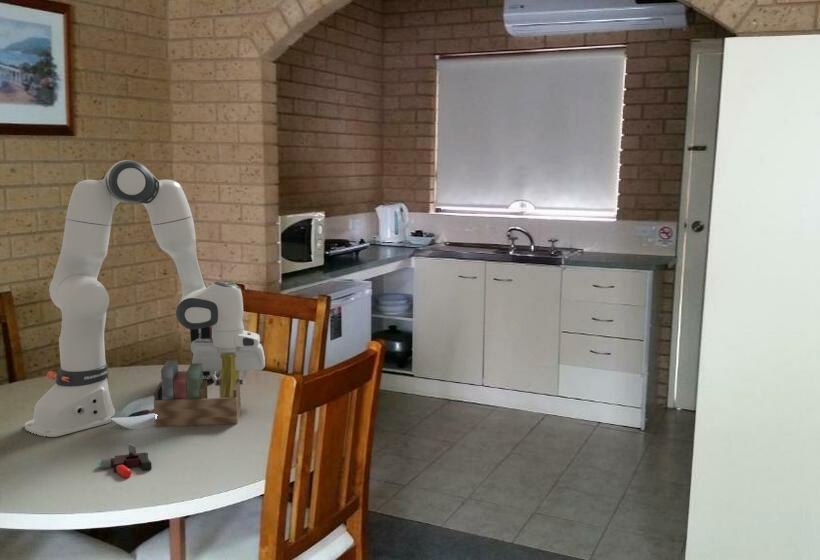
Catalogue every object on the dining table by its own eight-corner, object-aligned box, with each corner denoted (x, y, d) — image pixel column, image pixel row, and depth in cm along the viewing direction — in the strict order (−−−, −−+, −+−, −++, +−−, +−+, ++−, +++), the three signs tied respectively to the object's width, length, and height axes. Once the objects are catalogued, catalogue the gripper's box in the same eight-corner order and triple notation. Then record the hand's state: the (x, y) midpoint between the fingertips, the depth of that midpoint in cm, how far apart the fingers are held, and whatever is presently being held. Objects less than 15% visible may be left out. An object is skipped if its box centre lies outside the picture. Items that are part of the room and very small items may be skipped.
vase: (217, 398, 220) (215, 350, 217) (238, 395, 222) (237, 348, 220) (221, 405, 214) (219, 356, 212) (243, 402, 217) (241, 354, 214)
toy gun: (97, 466, 175) (95, 446, 174) (151, 459, 178) (150, 440, 177) (93, 484, 165) (92, 463, 165) (151, 477, 169) (150, 456, 168)
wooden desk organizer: (240, 409, 211) (239, 357, 209) (237, 423, 201) (235, 369, 198) (163, 412, 209) (160, 359, 206) (155, 426, 198) (152, 371, 195)
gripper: (188, 341, 210) (190, 389, 213) (263, 340, 213) (264, 387, 215) (192, 336, 217) (194, 382, 219) (264, 334, 219) (265, 380, 222)
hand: (229, 385), depth 217 cm, fingers closed on vase, 5 cm apart
